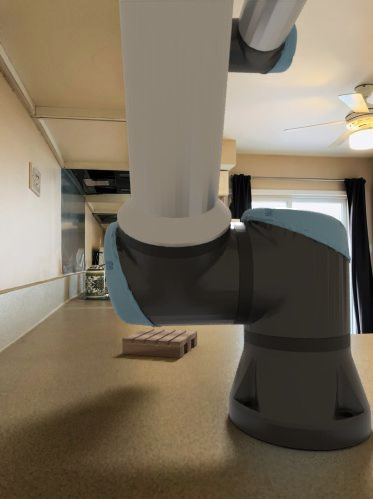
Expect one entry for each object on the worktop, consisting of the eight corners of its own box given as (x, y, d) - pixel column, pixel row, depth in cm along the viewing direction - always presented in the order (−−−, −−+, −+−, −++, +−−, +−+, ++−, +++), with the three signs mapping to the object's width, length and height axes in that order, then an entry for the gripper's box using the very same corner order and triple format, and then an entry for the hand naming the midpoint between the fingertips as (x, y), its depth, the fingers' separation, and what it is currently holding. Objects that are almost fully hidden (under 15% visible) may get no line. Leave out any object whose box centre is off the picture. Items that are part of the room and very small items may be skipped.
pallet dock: (180, 358, 68) (180, 341, 69) (122, 353, 72) (122, 338, 72) (197, 344, 80) (197, 330, 80) (146, 341, 83) (146, 328, 84)
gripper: (230, 130, 67) (230, 255, 67) (135, 140, 73) (135, 255, 73) (221, 114, 60) (222, 254, 60) (117, 127, 66) (117, 255, 65)
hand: (174, 254), depth 66 cm, fingers closed on travel mug, 6 cm apart
